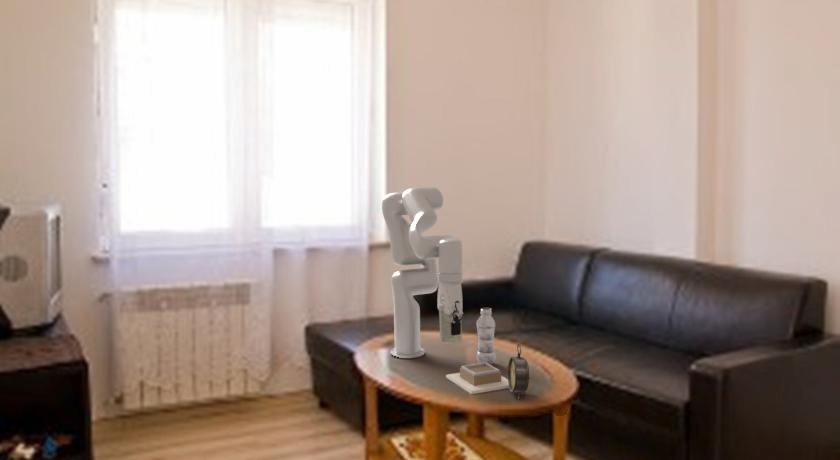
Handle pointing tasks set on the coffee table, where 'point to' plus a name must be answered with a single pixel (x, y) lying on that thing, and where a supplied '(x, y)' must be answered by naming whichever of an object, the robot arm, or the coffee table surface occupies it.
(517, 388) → the alarm clock
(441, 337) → the skincare box
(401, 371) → the coffee table surface
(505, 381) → the display base
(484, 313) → the plastic bottle
